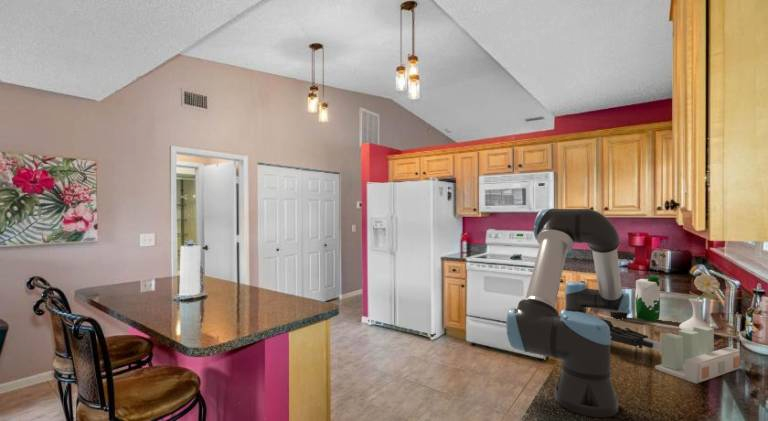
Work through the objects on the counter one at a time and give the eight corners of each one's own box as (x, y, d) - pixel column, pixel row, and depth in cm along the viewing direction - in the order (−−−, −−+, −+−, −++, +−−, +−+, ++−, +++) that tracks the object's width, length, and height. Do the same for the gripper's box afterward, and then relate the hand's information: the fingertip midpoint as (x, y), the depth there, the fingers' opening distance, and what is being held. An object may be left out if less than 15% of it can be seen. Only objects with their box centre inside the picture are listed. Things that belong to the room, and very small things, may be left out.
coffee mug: (632, 320, 175) (632, 299, 175) (612, 319, 177) (612, 298, 177) (622, 314, 186) (622, 293, 186) (603, 313, 188) (603, 292, 188)
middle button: (691, 365, 123) (691, 334, 123) (678, 360, 127) (678, 330, 127) (698, 362, 125) (698, 332, 125) (684, 358, 128) (685, 329, 128)
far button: (707, 360, 127) (707, 330, 127) (693, 356, 130) (693, 327, 130) (713, 358, 129) (713, 328, 128) (699, 354, 132) (699, 325, 132)
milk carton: (656, 322, 172) (656, 278, 172) (633, 318, 179) (633, 276, 179) (662, 319, 178) (662, 276, 178) (639, 314, 185) (639, 273, 185)
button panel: (696, 383, 113) (696, 363, 113) (655, 368, 123) (655, 350, 123) (739, 368, 123) (739, 350, 123) (698, 355, 134) (698, 338, 134)
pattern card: (702, 382, 113) (702, 365, 113) (699, 381, 114) (699, 364, 114) (740, 368, 122) (740, 353, 122) (737, 367, 123) (737, 352, 123)
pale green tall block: (675, 370, 119) (675, 338, 119) (661, 365, 123) (661, 334, 123) (682, 367, 121) (683, 336, 121) (669, 363, 125) (669, 332, 125)
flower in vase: (675, 332, 159) (675, 272, 158) (683, 327, 166) (683, 269, 166) (716, 341, 148) (716, 277, 148) (722, 334, 156) (722, 273, 156)
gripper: (609, 335, 148) (676, 356, 127) (586, 340, 143) (653, 363, 121) (609, 315, 148) (676, 334, 127) (586, 320, 143) (653, 340, 121)
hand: (665, 348), depth 124 cm, fingers closed
